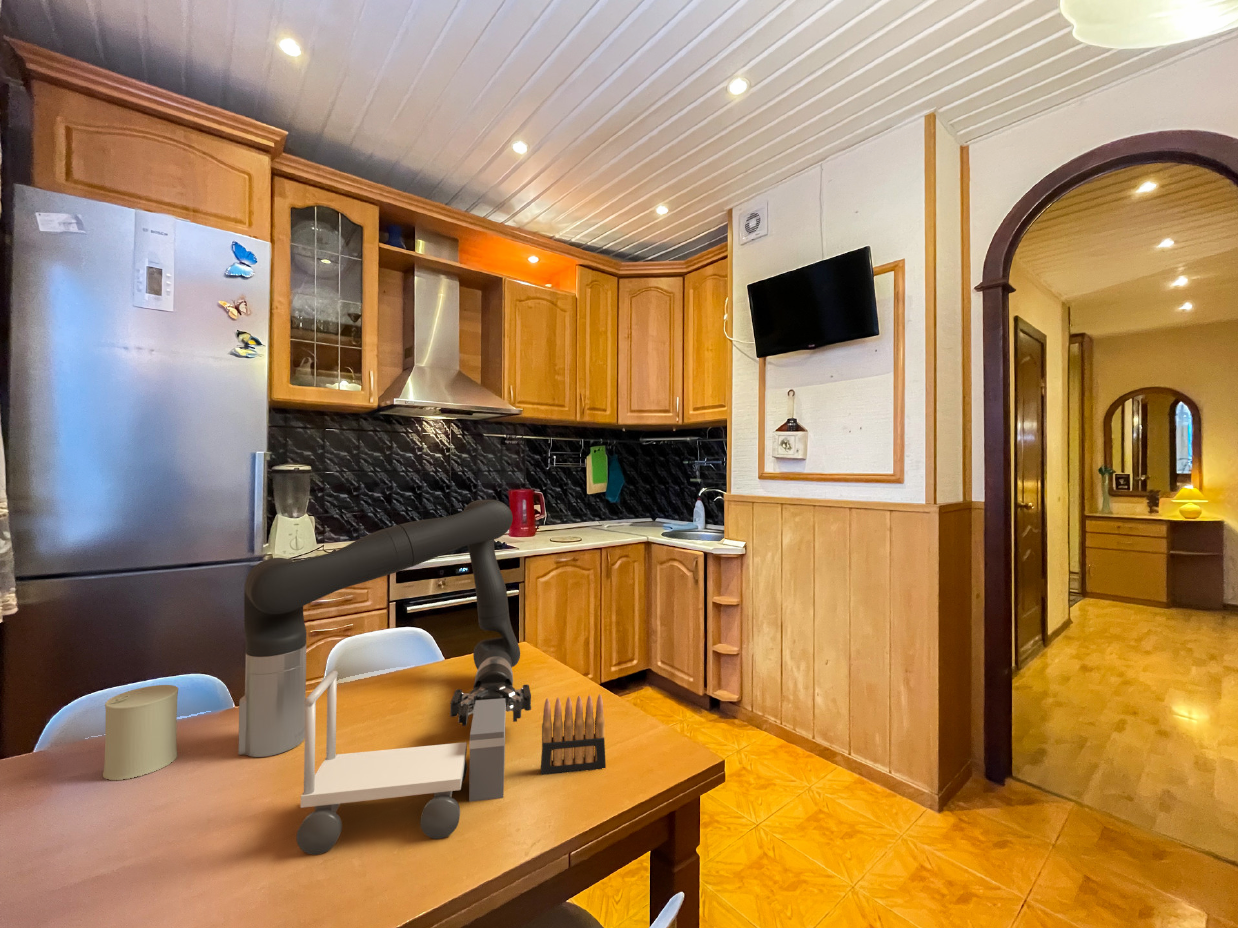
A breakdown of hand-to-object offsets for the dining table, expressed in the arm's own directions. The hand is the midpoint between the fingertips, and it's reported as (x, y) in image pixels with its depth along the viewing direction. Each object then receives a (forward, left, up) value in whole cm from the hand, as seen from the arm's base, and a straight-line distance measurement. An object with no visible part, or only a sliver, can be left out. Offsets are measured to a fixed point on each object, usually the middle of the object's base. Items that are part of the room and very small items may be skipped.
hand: (490, 718), depth 90 cm
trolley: (-13, -13, -7) cm, 19 cm away
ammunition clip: (+14, -6, -7) cm, 16 cm away
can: (-57, +9, -7) cm, 58 cm away
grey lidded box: (0, -5, -7) cm, 9 cm away
